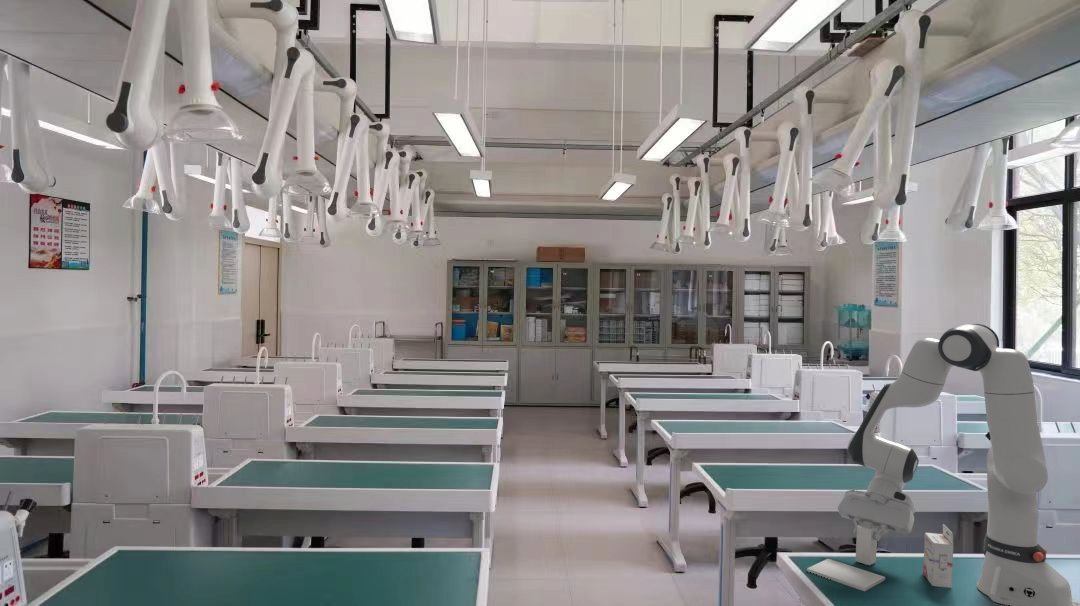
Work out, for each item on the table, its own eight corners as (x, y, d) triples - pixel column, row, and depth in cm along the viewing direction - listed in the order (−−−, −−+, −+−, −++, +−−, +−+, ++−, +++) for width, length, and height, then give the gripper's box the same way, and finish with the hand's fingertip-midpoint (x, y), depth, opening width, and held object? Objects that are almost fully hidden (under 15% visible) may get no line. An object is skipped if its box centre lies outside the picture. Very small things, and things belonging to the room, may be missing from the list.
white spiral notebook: (884, 579, 196) (885, 576, 196) (864, 591, 188) (864, 588, 188) (828, 561, 208) (828, 558, 208) (806, 571, 200) (806, 568, 200)
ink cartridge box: (921, 573, 201) (924, 521, 201) (941, 575, 200) (944, 522, 200) (931, 586, 193) (934, 531, 192) (952, 588, 192) (955, 533, 191)
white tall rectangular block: (875, 562, 208) (877, 522, 207) (869, 565, 205) (871, 525, 205) (861, 557, 211) (863, 518, 210) (855, 561, 208) (857, 521, 208)
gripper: (844, 482, 220) (827, 520, 214) (915, 498, 204) (899, 540, 198) (851, 494, 223) (834, 532, 217) (921, 511, 208) (905, 553, 201)
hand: (865, 536), depth 207 cm, fingers closed on white tall rectangular block, 4 cm apart
